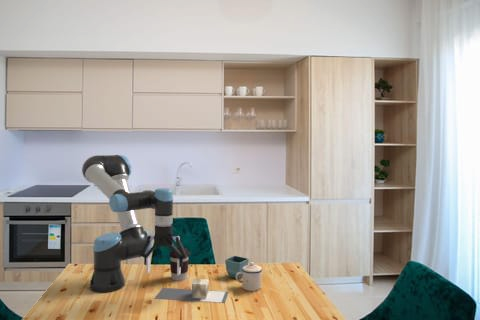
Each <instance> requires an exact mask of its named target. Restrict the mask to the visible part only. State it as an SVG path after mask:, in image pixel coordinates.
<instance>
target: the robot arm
mask: <svg viewBox="0 0 480 320" xmlns="http://www.w3.org/2000/svg"><path fill="white" fill-rule="evenodd" d="M81 173H82V175H83V178H84V179H85V180H86V181H87V182H88V183H91V184H93V185H94V186H95V187H97V189H98V191H99V190H100V192H101V193H102V194H104V196H105V197H106V198H107V199H108V202H109V203H108V205H109V207H110V210H111V211H112V212H113V213H116V215H117V218H118V222H119V226H120V230H119V231H118V232H109V233H104V234H101V235H99V236H97V237H96V238H95V239H94V240H93V241H94V242H93V248H92V249H93V272H92V276H91V279H90V281H89V289H90V291H93V292H95V293H110V292H114V291H119V290H121V289H122V288H123V287H125V284H126V280H125V276H124V274H123V271H122V268H121V267H122V265H121V264H122V262H123V261H127V260H132V259H137V258H141V257H142V258H143V260H144V262H143V263H144V266H146V269H145V272H146V274H147V275H148V274H149V273H151V257H150V255H151V254H152V252H154V251H155V249H156V248H157V247H164V248H167V247H168V248H169V249H171V250H170V251H173V252H174V253H175V255H176V256H177V257H178V258H179V259H178V260H177V275H180V273H181V267H182V266H183V259H185V258H186V257H187V254H186V252H185V250H184V248H185V247H184V246H183V243H182V241H181V237H180V235H177V236H174V235H173V233H174V231H173V225H172V224H173V218H174V215H173V213H174V211H173V208H174V206H173V205H174V196H173V190H172V189H171V188H167V187H166V188H165V187H163V188H162V187H160V188H156V189H155V190H154V191H153V190H151V189H149V190H147V189H146V190H145V189H144V190H142V191H138V192H137V191H136V192H131V191H130V186H129V183H128V180H129V179H130V176H131V173H132V164H131V161H130V160H129V158H128V157H127V156H125V155H122V154H114V155H113V154H112V155H111V154H110V155H98V154H97V155H92V156H91V157H89V158H87V159H86V160H85V161H84V163H83V164H82V167H81ZM147 209H153V210H154V224H155V226H154V235H152V234H150V232H149V231H147V230H145V229H144V226H143V225H141V224H140V223H139V221H138V220H139V219H138V216H137V213H136V211H137V210H139V211H140V210H147ZM152 241H154V242H155V243H154V244H153V245H152ZM173 241H174V242H175V243H176V245H177V247H178V248H179V250H180V252H181V253H180V252H179V251H178V249H177V248H176V246H175V244H174V242H173Z"/></svg>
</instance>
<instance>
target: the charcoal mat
mask: <svg viewBox="0 0 480 320" xmlns="http://www.w3.org/2000/svg"><path fill="white" fill-rule="evenodd" d="M229 294H230V292H229V291H227V290H226V291H223V290H221V291H220V290H209V294H208V296H207V298H206V299H202V298H192V288H174V287H162V288H161V289H160V291H159V292H158V293H157V294H156V296H154V298H153V299H154V300H166V301H167V300H168V301H170V300H171V301H182V302H183V301H186V302H188V301H189V302H201V303H203V302H204V303H215V304H216V303H217V304H226V301H227V298H228V295H229Z"/></svg>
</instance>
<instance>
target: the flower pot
mask: <svg viewBox="0 0 480 320" xmlns="http://www.w3.org/2000/svg"><path fill="white" fill-rule="evenodd" d="M249 260H250V259H249V258H247V257H243V256H238V255H232V256H230V257H228V258H226V259H225V260H224V262H225V270H226V273H227V275H228V277H230V278H232V279H236V274H237V273H238V272H243V271H242V268H243V267H244V266H246V265H249ZM241 278H243V274H239V275H238V276H237V279H238V280H239V279H241Z"/></svg>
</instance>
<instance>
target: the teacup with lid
mask: <svg viewBox="0 0 480 320" xmlns="http://www.w3.org/2000/svg"><path fill="white" fill-rule="evenodd" d="M242 271H243V272H238V273H237V274H236V278H235V279H236V282H238V283H239V284H242V286H241V287H242V289H243V290H245V291H248V292H255V291H259V290H261V289H262V271H263V269H262V267H261V266H259V265H257V264H256V263H255V262H253V261H252V262H250V263H248V265H246V266H244V267H243V268H242ZM239 274H243V277H241V278H242V280H239V279H237V276H238V275H239Z"/></svg>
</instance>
